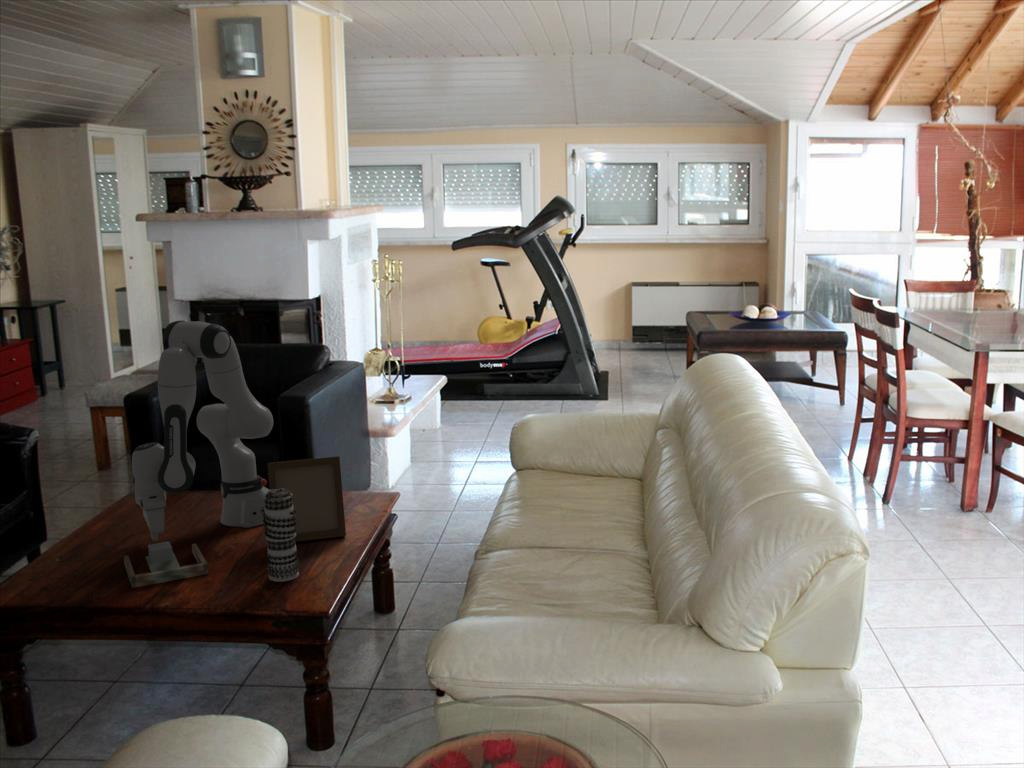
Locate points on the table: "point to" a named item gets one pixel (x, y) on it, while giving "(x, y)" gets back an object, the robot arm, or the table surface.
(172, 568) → the grey-green e-shaped frame
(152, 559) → the block
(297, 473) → the photo frame
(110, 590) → the table surface
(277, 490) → the black white tall cylinder
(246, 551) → the table surface
